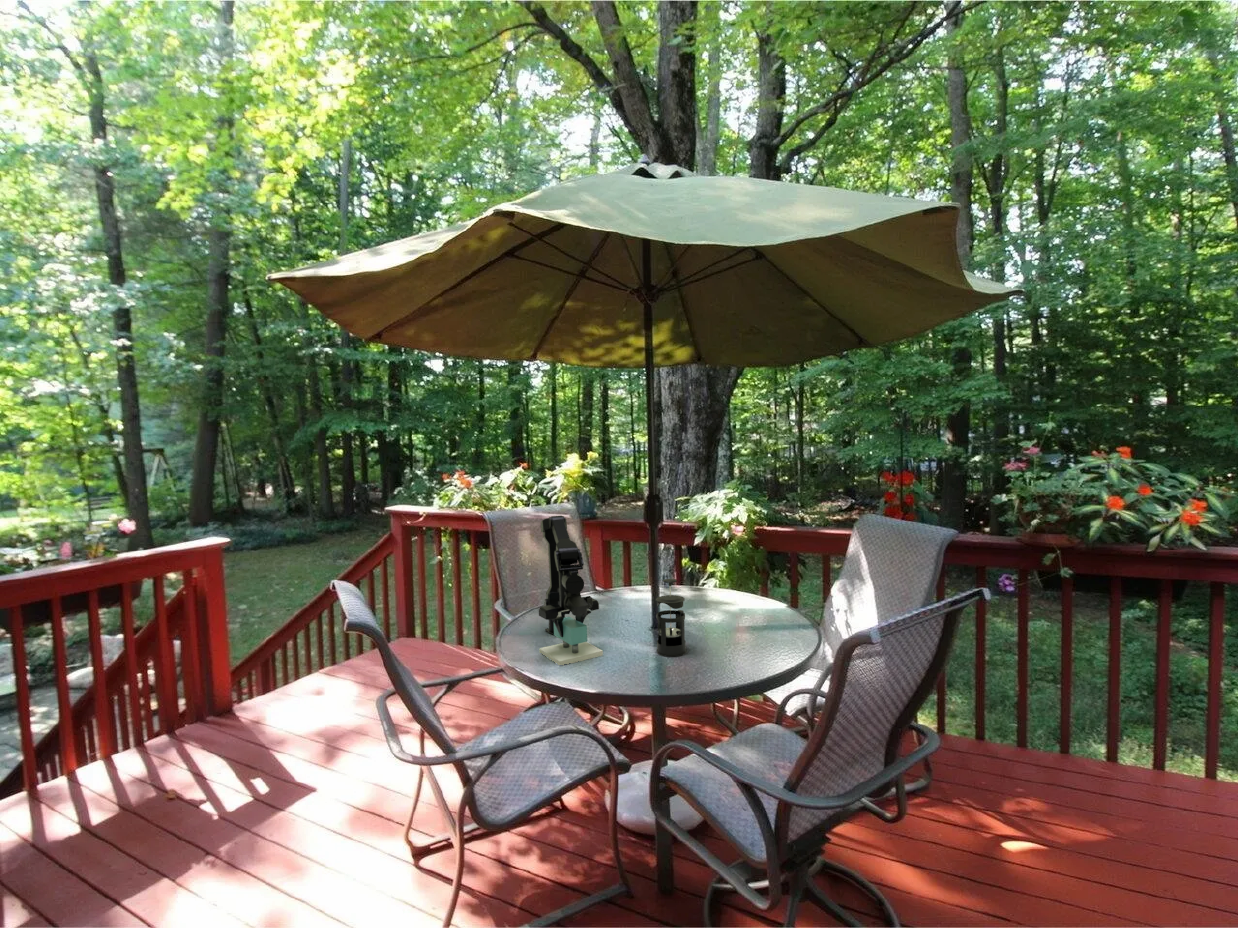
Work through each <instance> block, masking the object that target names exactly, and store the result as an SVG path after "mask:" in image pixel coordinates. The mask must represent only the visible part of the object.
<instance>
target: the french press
mask: <svg viewBox="0 0 1238 928" xmlns="http://www.w3.org/2000/svg"><path fill="white" fill-rule="evenodd" d="M662 581H663V582H664V583H668V587H669V589H668V590H669V595H667V594H666V595H665V594H664V595H660V596H656V598H655V601H656V602H657V603H656V604H657V607H659V606H660V605H661V604H664V605H667V606H668V607H669V609H668V610H667V609H666V610H661V611H658V612H657V613H656V615H655V617H656V621H657V640H656V654H657V655H658V656H661V657H666V658H677V657H681V656H684V655H686V653H687V651H688V649H687V648H686V647H687V645H686V643H687V642H686V637H685V636H686V635H685V632H686V631H685V620H686V613H685V611H684V610H681V608H683V607H684V602H685V597H684V596H681V595H674V594H672V588H671V587H672V583H676V582H677V579H675V578H664V579H663V580H662ZM664 615H665V616H666V615H669V618H666V617H662V616H664ZM672 615H675V617H673V618H672ZM668 623H669V625H670V627H667V624H668ZM672 623H673V624H674V623H675V627H672Z"/></svg>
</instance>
